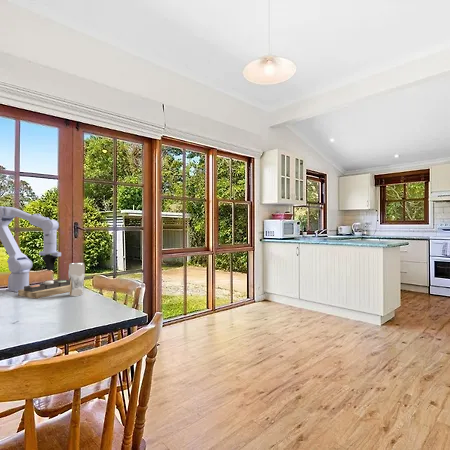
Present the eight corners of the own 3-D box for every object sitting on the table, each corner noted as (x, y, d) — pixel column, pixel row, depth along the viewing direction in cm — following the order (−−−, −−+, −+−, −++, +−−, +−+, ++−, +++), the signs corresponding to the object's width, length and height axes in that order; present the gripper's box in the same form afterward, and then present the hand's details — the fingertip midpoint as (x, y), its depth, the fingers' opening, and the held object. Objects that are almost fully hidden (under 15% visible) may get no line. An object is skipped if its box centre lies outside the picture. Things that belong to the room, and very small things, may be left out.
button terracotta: (27, 290, 144) (27, 286, 144) (36, 288, 148) (36, 284, 148) (33, 290, 143) (33, 286, 143) (41, 289, 146) (41, 285, 146)
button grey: (42, 285, 151) (42, 281, 151) (50, 283, 154) (50, 280, 154) (47, 285, 149) (47, 282, 149) (55, 284, 152) (55, 281, 152)
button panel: (18, 295, 145) (18, 285, 145) (59, 287, 164) (59, 279, 164) (36, 298, 139) (36, 288, 139) (77, 290, 158) (77, 281, 158)
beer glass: (80, 296, 144) (80, 264, 144) (65, 296, 144) (65, 264, 144) (87, 293, 150) (87, 262, 151) (72, 293, 151) (73, 262, 151)
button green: (55, 285, 157) (55, 281, 157) (62, 283, 160) (63, 280, 160) (60, 285, 155) (61, 282, 155) (68, 284, 159) (68, 281, 159)
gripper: (66, 243, 156) (66, 270, 156) (48, 242, 163) (48, 268, 163) (53, 244, 150) (53, 271, 150) (35, 243, 157) (35, 270, 156)
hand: (49, 270), depth 156 cm, fingers closed
